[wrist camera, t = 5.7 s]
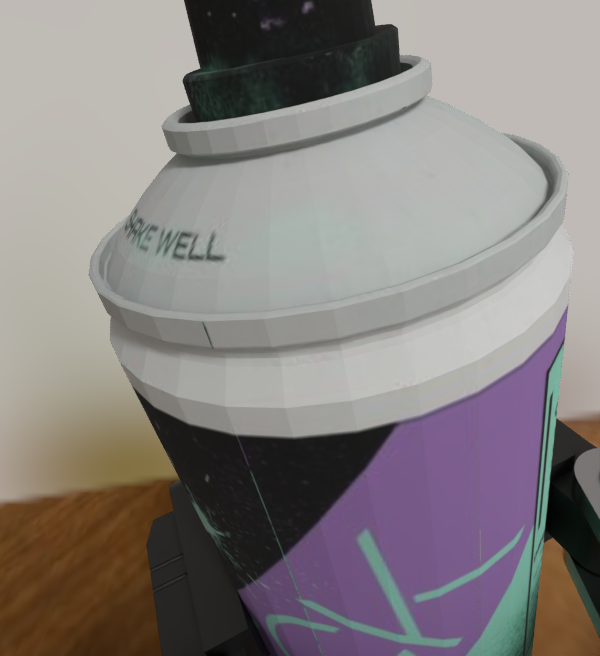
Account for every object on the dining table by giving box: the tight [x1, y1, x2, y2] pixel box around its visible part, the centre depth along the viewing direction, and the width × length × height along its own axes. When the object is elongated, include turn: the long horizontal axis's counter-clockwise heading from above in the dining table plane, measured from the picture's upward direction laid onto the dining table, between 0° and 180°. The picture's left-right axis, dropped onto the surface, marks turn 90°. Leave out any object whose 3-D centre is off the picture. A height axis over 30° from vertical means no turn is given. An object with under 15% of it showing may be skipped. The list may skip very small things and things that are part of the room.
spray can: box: [89, 0, 573, 656], centre depth 10 cm, size 6×6×20 cm
